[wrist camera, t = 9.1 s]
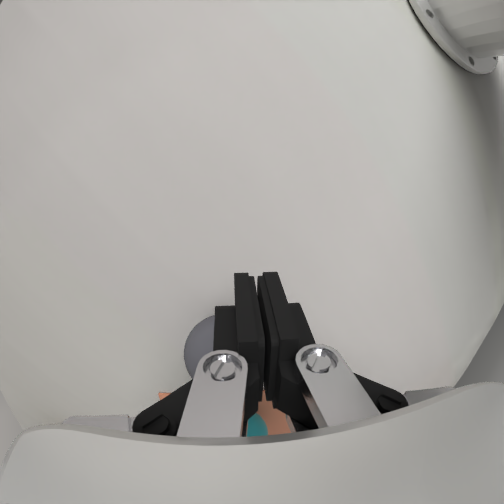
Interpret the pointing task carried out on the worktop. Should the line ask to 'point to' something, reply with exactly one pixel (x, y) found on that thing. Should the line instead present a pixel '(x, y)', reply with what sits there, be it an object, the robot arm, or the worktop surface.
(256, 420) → the object ball
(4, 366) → the worktop surface
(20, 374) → the worktop surface
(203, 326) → the grey ball
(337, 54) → the worktop surface
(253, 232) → the worktop surface
